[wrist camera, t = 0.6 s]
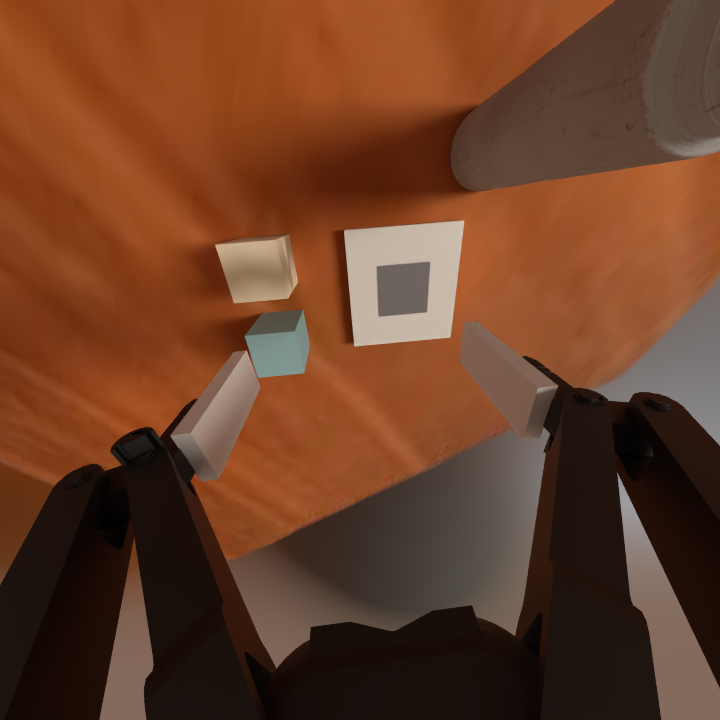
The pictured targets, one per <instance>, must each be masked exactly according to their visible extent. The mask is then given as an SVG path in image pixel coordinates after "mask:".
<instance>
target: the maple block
mask: <svg viewBox="0 0 720 720" xmlns="http://www.w3.org/2000/svg"><path fill="white" fill-rule="evenodd" d="M215 246H216V249H217V252H218V255H219V258H220V261H221V265H222V268H223V271H224V274H225V277H226V280H227V283H228V286H229V289H230V292H231V295H232V299H233V302H234V303H243V302H255V301H266V300H277V299H288V298H289V296H290V294H291V293H292V291H293V289H294V288H295V286H296V284H297V283H298V280H297V274H296V269H295V263H294V258H293V253H292V247H291V242H290V237H289V234H285V235H273V236H261V237H249V238H240V239H236V240H232V241H228V242H224V243H220V244H216V245H215Z"/></svg>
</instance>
